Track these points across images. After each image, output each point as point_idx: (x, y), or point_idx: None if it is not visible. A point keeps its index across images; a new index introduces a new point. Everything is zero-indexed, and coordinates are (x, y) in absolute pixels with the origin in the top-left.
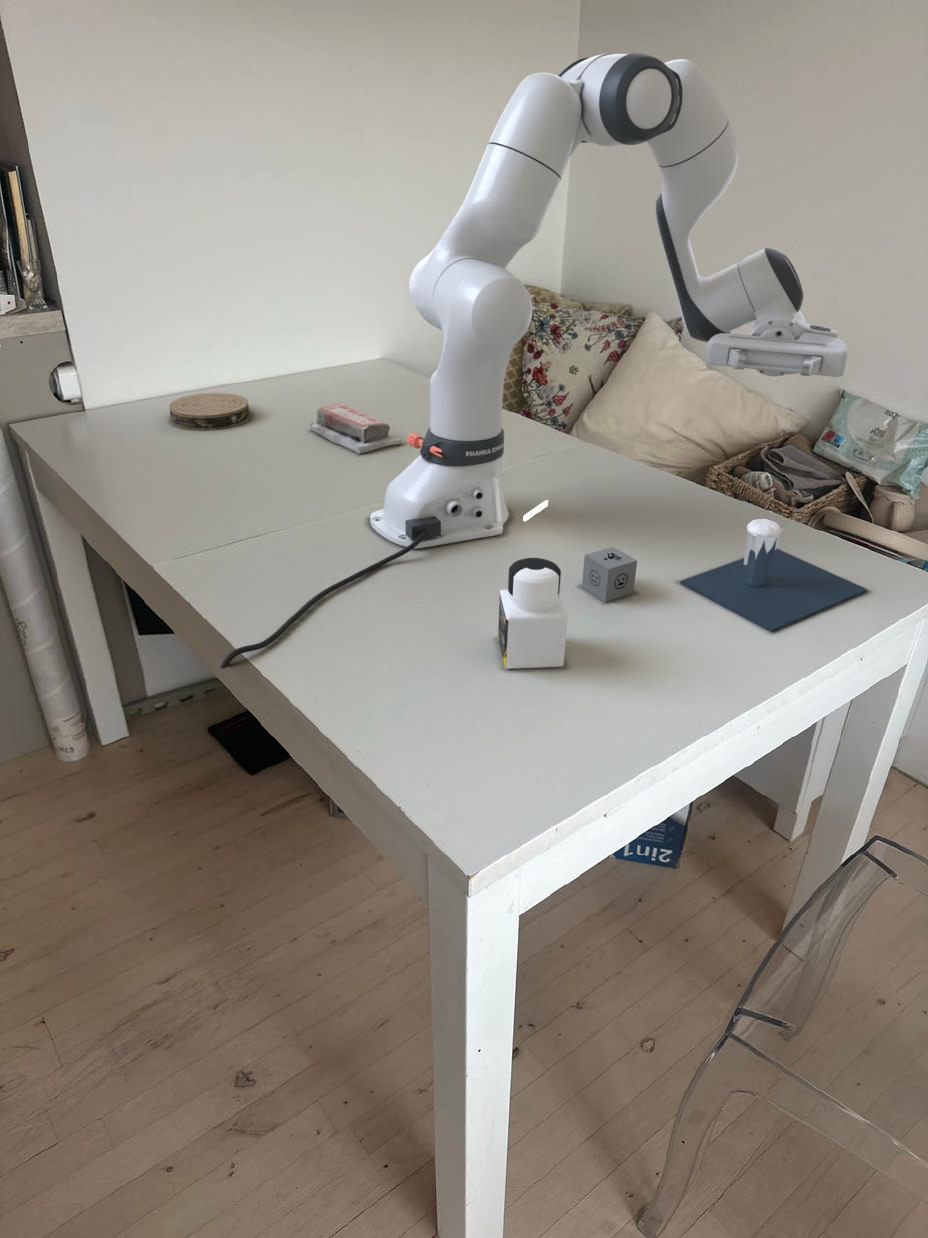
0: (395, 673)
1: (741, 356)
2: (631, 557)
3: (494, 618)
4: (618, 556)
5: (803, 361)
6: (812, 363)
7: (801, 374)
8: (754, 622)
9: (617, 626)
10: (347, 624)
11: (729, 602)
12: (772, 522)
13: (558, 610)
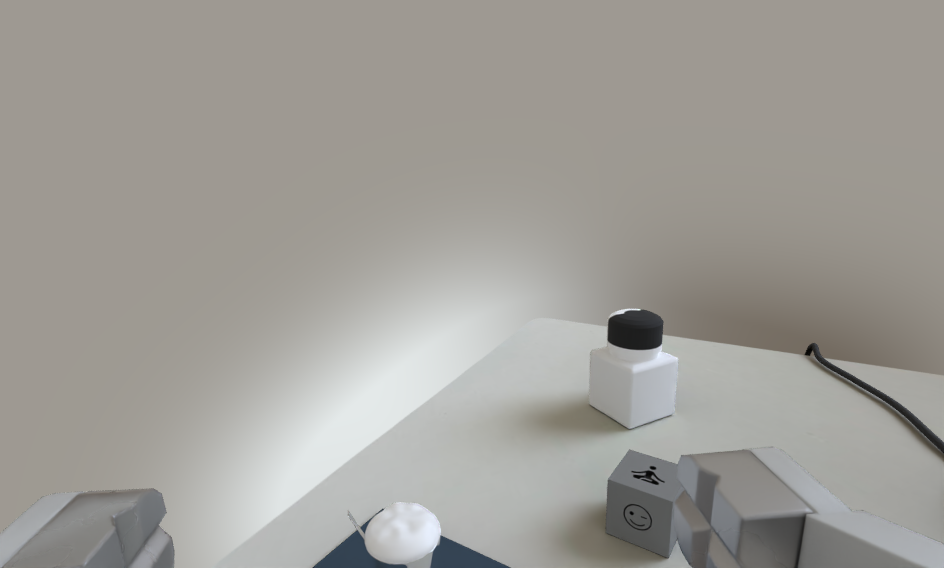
0: (702, 370)
1: (751, 475)
2: (621, 484)
3: (712, 436)
4: (642, 481)
5: (101, 541)
6: (43, 505)
7: (170, 565)
8: None
9: (579, 464)
10: (814, 393)
11: (450, 549)
12: (385, 530)
13: (601, 349)
